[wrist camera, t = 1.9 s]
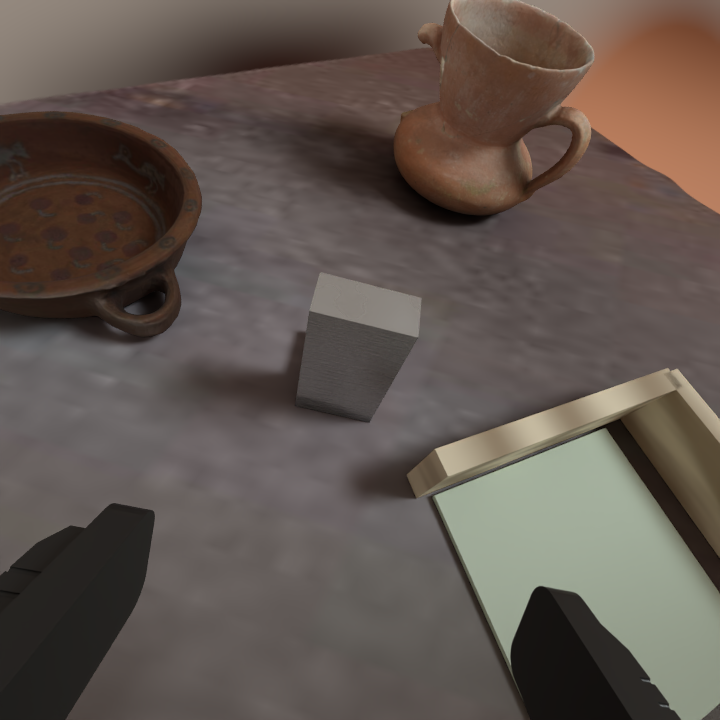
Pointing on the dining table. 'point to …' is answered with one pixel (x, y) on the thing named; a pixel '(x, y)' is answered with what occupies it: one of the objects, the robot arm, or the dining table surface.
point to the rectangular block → (354, 346)
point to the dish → (91, 219)
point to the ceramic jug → (493, 105)
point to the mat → (591, 561)
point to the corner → (626, 402)
